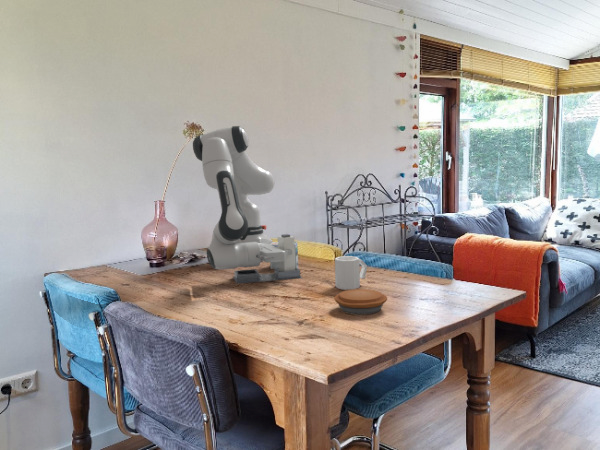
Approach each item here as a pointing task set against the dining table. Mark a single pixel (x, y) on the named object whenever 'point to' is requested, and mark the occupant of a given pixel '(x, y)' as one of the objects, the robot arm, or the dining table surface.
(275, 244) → the light bulb box
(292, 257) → the white rectangular bottle
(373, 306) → the pie
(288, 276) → the grey double tray
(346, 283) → the mug
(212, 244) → the robot arm
